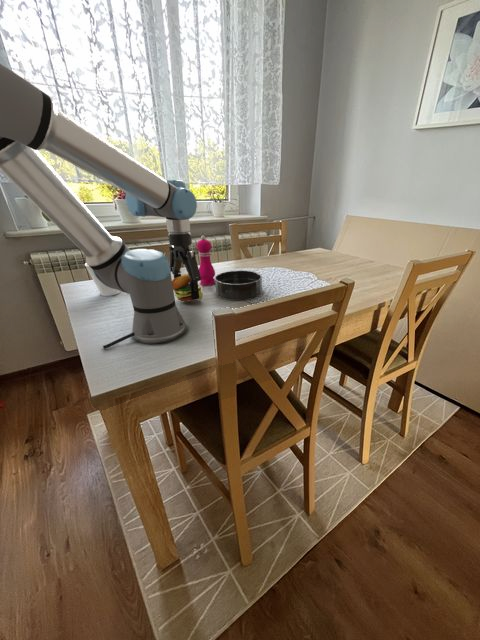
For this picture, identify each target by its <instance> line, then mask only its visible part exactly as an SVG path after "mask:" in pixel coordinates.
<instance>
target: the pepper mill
mask: <svg viewBox="0 0 480 640" xmlns="http://www.w3.org/2000/svg"><path fill="white" fill-rule="evenodd" d="M196 249H197V250H198V256H199V258H200V261H199V266H198V268H199V272H200V276H201V280H200V281H199V282H200V286H213V285H215V276H216V270H215V268H214V266H213V264H212V261H211V255H212V253H211V249H212V243H211V242H210V241H209V240H208V239H206V236H205V235H201V236H200V239H199V240H198V241H197V243H196Z"/></svg>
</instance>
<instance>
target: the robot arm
mask: <svg viewBox="0 0 480 640" xmlns="http://www.w3.org/2000/svg"><path fill="white" fill-rule="evenodd" d="M41 150H45V151H47V152H49V153H51V154H53V155H55V156H56V157H58V158H60V159H62V160H63V161H66V162H67V163H69V164H72V165H73V166H75V167H78V168H79V169H81V170H83V171H84V172H87V173H88V174H90V175H92V176H93V177H96V178H98V179H99V180H101V181H103V182H104V183H107V184H109V185H111V186H113V187H114V188H116V189H118V190H119V191H122V192H124V193H125V203H126V207H127V209H128V211H129V212H130V214H131V215H133V216H134V217H142V218H145V217H159V218H165V222H166V223H165V224H166V229H167V232H168V235H167V237H168V243H169V245H170V246H168V249H169V259H168V257H167V255H166V254H164V253H163V252H162V251H159V250H155V249H147V248H136V249H130V248H129V246H128V245H127V244H126V243H125V242H124V240H122V238H120V237H119V236H114V235H111V234H110V233H109V232H108V230H107V229H106V228H105V227H104V226H103V224H102V223H101V222H100V221H99V220H98V219H97V218H96V217H95V215H94V214H93V213H92V212H91V211H90V210H89V209H88V207H87V206H86V205H85V204H84V203H83V201H82V200H80V198H79V196H77V195H76V194H75V192H74V191H73V190H72V188H70V186H68V184H67V183H66V182H65V180H63V178H62V177H61V176H60V175H59V174H58V173H57V172H56V170H55V169H54V168H53V167H52V166H51V165H50V163H49V162H48V161H47V160H46V159H45V157H44V156H43V155H42V154H41V153H40V152H39V151H41ZM0 172H2V174H3V175H4V176H6V177H7V179H8V180H9V181H11V182H12V184H14V185H15V187H16V188H17V189H18V190H20V192H22V194H23V195H24V196H26V197H27V199H29V201H30V202H32V204H33V205H34V206H36V207H37V208H38V209H39V211H41V212H42V214H44V215H45V217H47V218H48V219H49V221H51V222H52V223H53V225H55V226H56V227H57V228H58V229H59V230H60V231H61V232H62V233H63V235H65V236H66V237H67V238H68V239H69V240H70V241H71V243H73V244H74V245H75V246H76V247H77V248H78V249H79V250H80V251H81V252H82V253H83V254H84V255H85V263H87V264H88V265H89V266H90V267H91V268H92V269H93V272H94V274H95V276H96V277H97V279H98V280H99V281H100V282H102V283H103V284H104V285H106V286H108V287H110V288H112V289H117V290H119V292H122V293H125V294H127V295H129V296H130V300H131V303H132V304H131V305H132V309H133V319H132V329H131V333H129V334H127V335H124V336H122V337H119V338H118V339H116V340H113V341H112V342H109V343H107V344H105V345H102V348H103V350H106V349H108V348H111V347H113V346H115V345H118V344H119V343H121V342H123V341H125V340H127V339H130V338H132V337H133V339H134V340H135V341H137V342H139V343H141V344H147V345H158V344H165V343H169V342H172V341H174V340H177V339H179V338H180V337H182V336H183V335H184V334H185V333H186V331H187V326H186V322H185V320H184V318H183V316H182V314H181V312H180V310H179V308H178V307H177V304H176V299H175V298H176V296H175V292H174V290H173V285H172V280H173V279H175V278H177V277H180V276H182V274H181V273H182V271H181V267H182V265H183V266H184V267H185V270H186V273H187V274H188V275H189V277H190V280H191V281H190V289H191V297H192V300H191V301H196V300H200V299H199V290H198V285H199V282H200V280H201V276H200V272H199V264H198V261H197V256H196V251H195V250H190V246H191V245H192V244H193V239H192V233H191V221H190V219H192V218H193V217H194V216H195V215H196V212H197V208H198V203H197V198H196V196H195V194H194V192H192V191H191V190H190V189H188V188H187V186H186V183H185V181H183V180H181V179H164V178H163V177H161V176H160V175H158V174H156V173H155V172H154V171H152V170H150V169H149V168H148V167H146V166H145V165H143V164H141V163H140V162H139V161H137V160H135V159H134V158H133V157H131V156H130V155H128V154H127V153H125V152H123V151H122V150H121V149H119V148H118V147H116V146H114V145H113V144H112V143H110V142H109V141H107V140H105V139H104V138H103V137H101V136H100V135H98V134H96V133H95V132H94V131H92V130H91V129H89V128H87V127H86V126H84V125H83V124H82V123H80V122H78V121H77V120H75V119H74V118H73V117H71V116H69V115H68V114H66V113H65V112H64V111H62V110H60V109H59V108H57V106H56V105H55V102H54V101H53V98H52V97H51V96H49V94H47V93H46V92H44V91H42V90H41V89H40V88H38V87H36V86H35V85H34V84H33V83H31V82H29V81H28V80H27V79H25V78H23V77H21V76H20V75H19V74H18V73H15V72H14V71H13V70H11V69H10V68H8V67H7V66H5V65H3V64H1V63H0ZM172 275H173V279H172ZM195 299H196V300H195Z"/></svg>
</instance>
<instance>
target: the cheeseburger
mask: <svg viewBox="0 0 480 640" xmlns="http://www.w3.org/2000/svg"><path fill="white" fill-rule="evenodd" d="M190 281H191V280H190V277H189V275H188V273H184V274H181V276H180V277H177V278H175V279H174V278H173V279H172V285H173V291H174V297H175V298H177V300H178V301H180V302H191V301H193V300H192V297H191V289H190ZM198 290H199V299H198V300H201V299H203V296H204V294H203V290H202V285H200V284H198ZM196 300H197V299H195V300H194V301H196Z"/></svg>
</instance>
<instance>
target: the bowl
mask: <svg viewBox="0 0 480 640" xmlns="http://www.w3.org/2000/svg"><path fill="white" fill-rule="evenodd" d="M214 279H215V284H214V287H215V289H214V290H215V294H216V296H218V297H219V298H222V299H224V300H225V299H226V300H229V301H245V300H251V299H254V298H256V297H258V296H260V295H261V294H262V292H263V276H262V274H260V273H259V272H256V271H252V270H230V271H224V272H221V273H218V274H217V275H216V274H215V276H214Z"/></svg>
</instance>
